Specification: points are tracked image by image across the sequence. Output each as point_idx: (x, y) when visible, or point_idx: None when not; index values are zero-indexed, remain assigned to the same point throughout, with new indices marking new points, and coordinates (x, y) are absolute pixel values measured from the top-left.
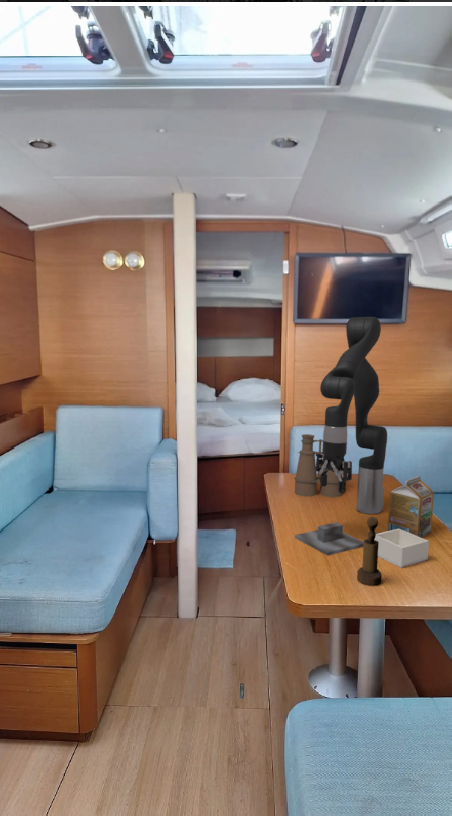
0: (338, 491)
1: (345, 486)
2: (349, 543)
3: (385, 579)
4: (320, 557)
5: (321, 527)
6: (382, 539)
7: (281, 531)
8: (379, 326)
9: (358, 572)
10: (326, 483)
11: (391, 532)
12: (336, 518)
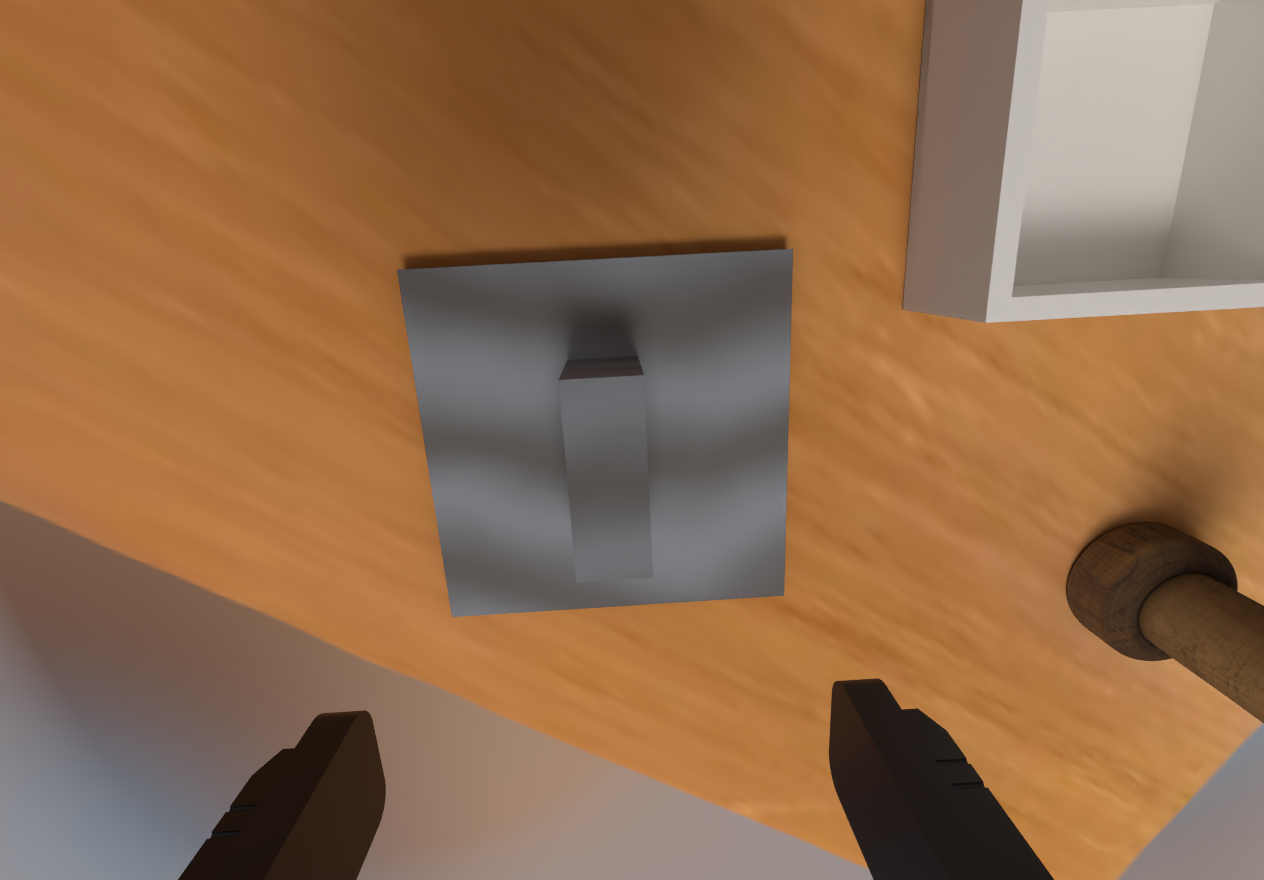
0: (840, 791)
1: (986, 800)
2: (739, 372)
3: (1182, 495)
4: (777, 633)
5: (609, 572)
6: (1099, 315)
7: (319, 621)
8: None
9: (1128, 654)
10: (349, 740)
11: (1032, 74)
12: (147, 12)
